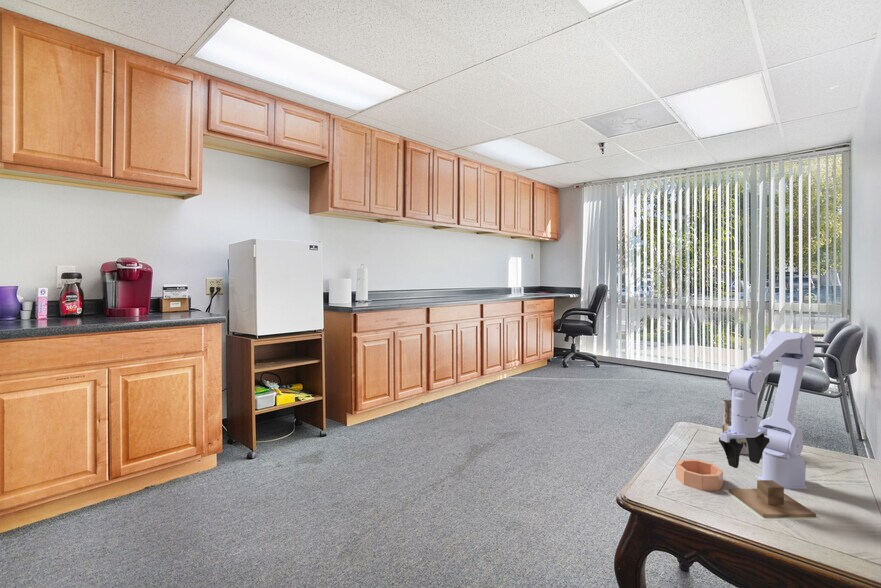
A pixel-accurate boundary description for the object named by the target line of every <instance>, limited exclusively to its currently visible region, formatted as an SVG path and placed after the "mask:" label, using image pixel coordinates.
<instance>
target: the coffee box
mask: <svg viewBox="0 0 881 588" xmlns="http://www.w3.org/2000/svg"><path fill="white" fill-rule="evenodd" d="M731 406H732V399H729V400H728V399H722V433H723V432H725V431H727V430H728V426H731V413H732V412H731ZM736 441H737V442H738V443H739V444H742V445H744V446H743V448H742V450H741V452H740V455H748V454H749V451H748V444H747V440H746V438H743V439H737V440H736Z"/></svg>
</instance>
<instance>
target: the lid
mask: <svg viewBox="0 0 881 588" xmlns="http://www.w3.org/2000/svg"><path fill="white" fill-rule="evenodd" d="M728 490H729V492H730V493H731V494H733V495H734V496H735V497H737V498H738V499H739V500H740V501H742V502H743V503H744V504H746V505H747V506H748V507H750V508H751V509H752V510H754V511H755V512H756V513H758V514H759V515H760V516H762V517H763V518H768V517H816V515H817V513H816V512H814V511H813V510H811V509H809V508H808V507H806V506H804V505H803V504H802V503H800V502H799V501H797V500H795V499H794V498H793V497H790V496H789V495H787V494H786V493H785V489H784V487H783V486H781V485H779V484H778V483H776V482H775V481H773V480H760V479H757V480H756V488H729V489H728Z"/></svg>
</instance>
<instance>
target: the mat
mask: <svg viewBox="0 0 881 588" xmlns="http://www.w3.org/2000/svg"><path fill="white" fill-rule="evenodd" d="M722 491H723V492H725V493H726V494H727V495H729V496H730V498H733V500H735V501H737V502H738V503H739V504H741V505H742V506H743V507H744V508H746V509H747V510H748V511H749V512H751V513H752V514H754V515H755V516H756V517H758V519H760V520H761V521H793V520H795V521H796V520H797V521H798V520H799V521H801V520H804V521H805V520H813V521H814V520H815V521H816V520H817V521H818V520H824V518H822V517H821V516H819V515H818V514H816V517H768V518H763V517H762V516H760V515H759V514H758V513H756V512H755V511H754V510H752V509H751V508H750V507H748V506H747V505H746V504H744V503H743V502H742V501H740V500H739V499H738V498H737V497H735V496H734V495H733V494H731V493H730V492H729V489H723V490H722Z"/></svg>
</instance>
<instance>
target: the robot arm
mask: <svg viewBox="0 0 881 588" xmlns="http://www.w3.org/2000/svg"><path fill="white" fill-rule="evenodd" d="M815 349H816V342H815V338H814V336H813V335H812V334H811V333H809V332H806V333H803V332H794V331H793V332H792V331H781V330H780V331H779V330H775V329H774V330H771V331H770V332H769V333H768V334H767V337H766V345H765V346H764V348H763V349H762V350H761V352H760V353H757V354H753V355H751V356H750V357H749V358H748V359H747V360H746V361H745V362H744V363H743V364H742V365H741V366H739V368H734V369H731V370H729V372H728V374H727V378H726V385H727V387H728V394H729V396H731V400H732V406H731V412H732V413H731V426H728V430H727V431H725V432H723V431H722V432H720V433H719V434H720V435H719V436H720V437H718V442H719V443H720V445H721V447H722V450H723V451H724V453H725V456H726V460H727V464H728V466H730V467H731V468H734V469H738V468H739V464H740V456H741V454H740V452H741V450H742V448H743V446H744V445H742V444H739V443H738V442H737V441H736V440H737V439H743V438H746V440H747V444H748V451H749V455H748V459H749V462H752V463H754V464H757V465H759V464H760V461H761V460H762V470H761V471H762V472H761V473H762V474H761V475H758V474H757V475H754V477H755V478H757V480H773V481H775V482H776V483H778V484H779V485H781V486H783V487H784V490H786V489H787V490H788V489H789V490H791V489H794V490H795V489H798V490H799V489H803V490H804V489H805V490H807V489H808V487H807V486H806V471H807V470H806V468H807V467H806V463H805V459H804V457H802V456H801V453H802V451H803V447H804V442H803V441H804V440H803V438H804V432H803V431H802V429H801V428H800V427H799V426H798V425H797V424H796V423H794V417H795V414H796V413H795V412H796V408H797V402H798V398H799V395H800V389H801V386H802V385H801V383H802V380H803V374H804V372H805V371H804V370H805V366H809V365H810V364H812V361H813V358H814V356H815ZM775 361H779V362H780V363H781V364H782V366H781V371H780V376H779V379H778V386H777V391H776V393H775V397H774V403H773V407H772V412H771V413H772V414H771V416H769V417H767V418H764V419H761V420H760V422H759V426H758V406H759V405H758V397H759V395H758V394H759V393H760V392H762V388H763V385H764V383H765V378H767V376H768V375H770V373H771V372H772V371H773V370H774V368H775V367H774V366H775V365H774V363H775ZM761 457H762V459H761Z"/></svg>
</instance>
